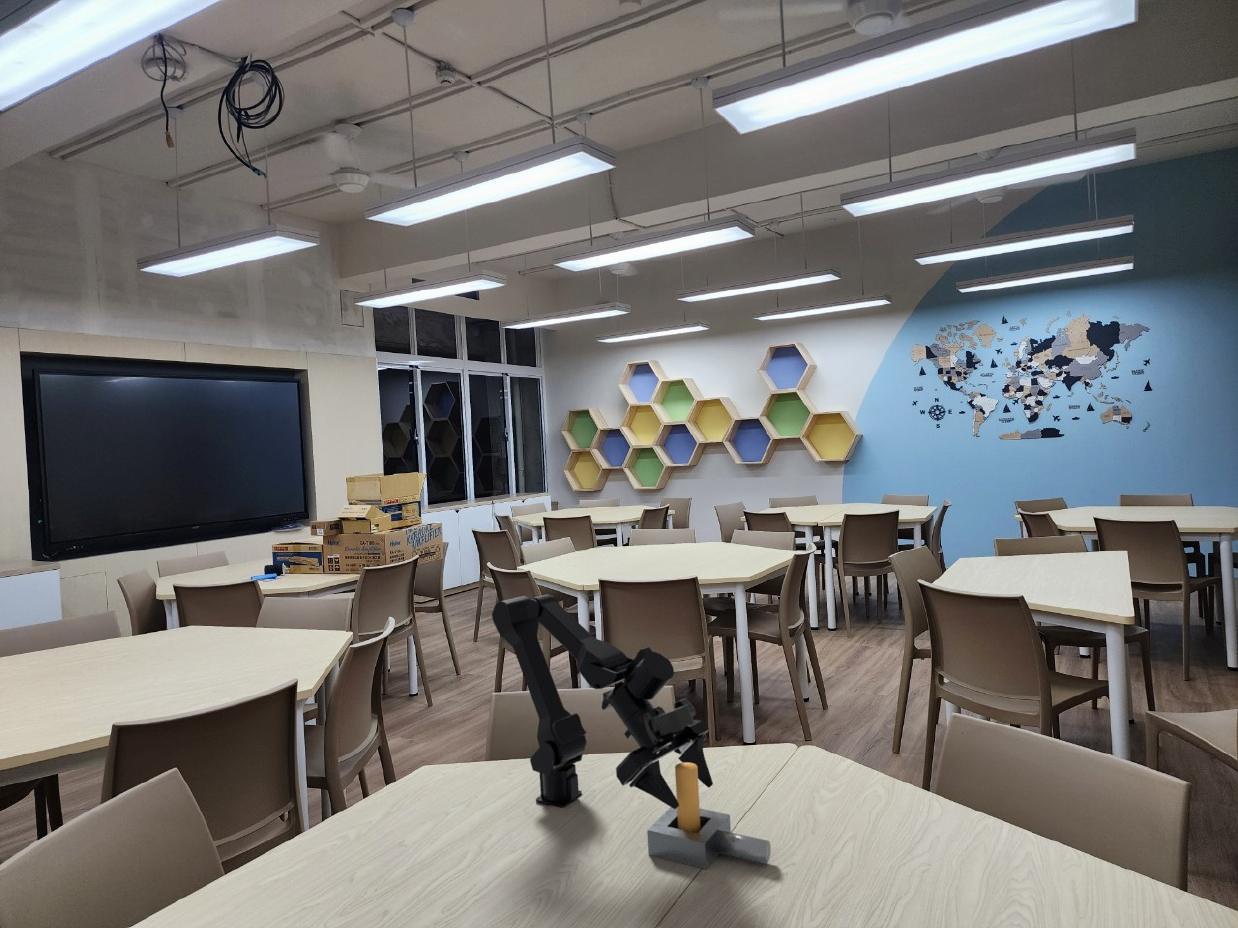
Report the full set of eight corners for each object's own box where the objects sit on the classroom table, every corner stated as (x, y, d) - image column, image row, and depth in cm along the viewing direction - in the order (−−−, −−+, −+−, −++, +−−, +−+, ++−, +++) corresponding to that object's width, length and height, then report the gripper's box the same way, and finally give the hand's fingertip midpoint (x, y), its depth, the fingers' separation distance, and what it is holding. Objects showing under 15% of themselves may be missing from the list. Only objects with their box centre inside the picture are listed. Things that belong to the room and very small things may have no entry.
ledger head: (648, 854, 121) (647, 829, 121) (676, 826, 129) (674, 803, 129) (756, 881, 111) (755, 854, 111) (778, 849, 120) (777, 824, 120)
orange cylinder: (678, 852, 121) (674, 771, 121) (679, 840, 124) (675, 762, 124) (701, 852, 120) (697, 771, 120) (701, 841, 124) (697, 762, 124)
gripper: (625, 702, 118) (686, 791, 110) (696, 672, 132) (754, 749, 124) (591, 742, 123) (647, 829, 116) (662, 709, 137) (716, 785, 130)
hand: (694, 796), depth 121 cm, fingers open, 9 cm apart
